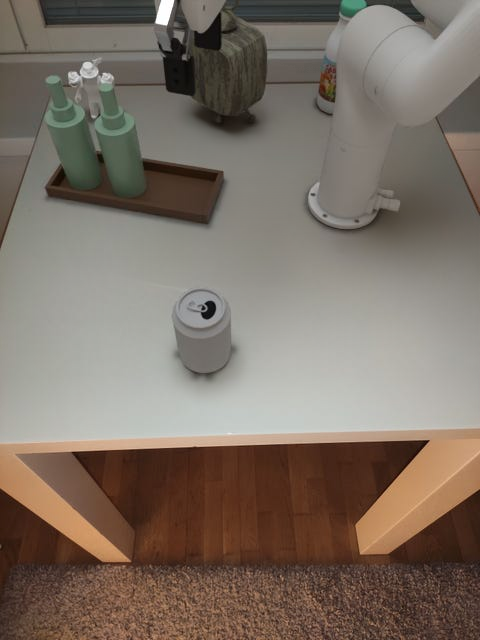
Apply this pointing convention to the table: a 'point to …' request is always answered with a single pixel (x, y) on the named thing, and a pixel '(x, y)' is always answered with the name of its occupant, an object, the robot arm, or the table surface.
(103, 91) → the bottle
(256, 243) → the table surface
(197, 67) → the tabletop clock
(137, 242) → the table surface
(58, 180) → the tray
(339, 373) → the table surface
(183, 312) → the can
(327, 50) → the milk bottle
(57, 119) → the bottle
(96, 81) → the hat wearing toy figure
